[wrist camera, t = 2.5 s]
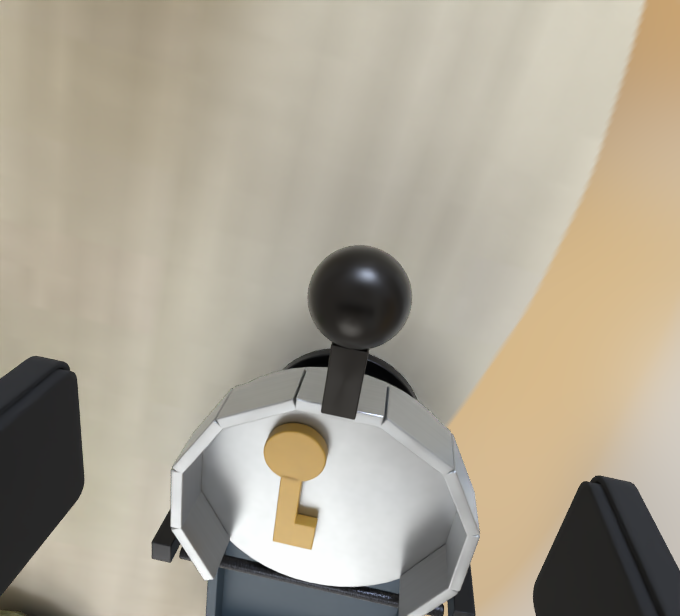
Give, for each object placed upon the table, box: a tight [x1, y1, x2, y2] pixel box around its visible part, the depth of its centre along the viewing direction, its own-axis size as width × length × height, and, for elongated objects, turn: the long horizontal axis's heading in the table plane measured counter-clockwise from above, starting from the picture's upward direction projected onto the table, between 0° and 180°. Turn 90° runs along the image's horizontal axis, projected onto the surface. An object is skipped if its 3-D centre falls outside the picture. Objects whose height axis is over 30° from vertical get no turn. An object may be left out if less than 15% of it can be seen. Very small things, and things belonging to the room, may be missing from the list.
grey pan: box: [170, 245, 480, 616], centre depth 20 cm, size 18×13×4 cm
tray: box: [206, 540, 400, 616], centre depth 32 cm, size 14×12×2 cm
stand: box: [152, 349, 475, 616], centre depth 26 cm, size 11×17×6 cm, turn 81°
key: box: [263, 423, 328, 550], centre depth 22 cm, size 6×3×1 cm, turn 171°
